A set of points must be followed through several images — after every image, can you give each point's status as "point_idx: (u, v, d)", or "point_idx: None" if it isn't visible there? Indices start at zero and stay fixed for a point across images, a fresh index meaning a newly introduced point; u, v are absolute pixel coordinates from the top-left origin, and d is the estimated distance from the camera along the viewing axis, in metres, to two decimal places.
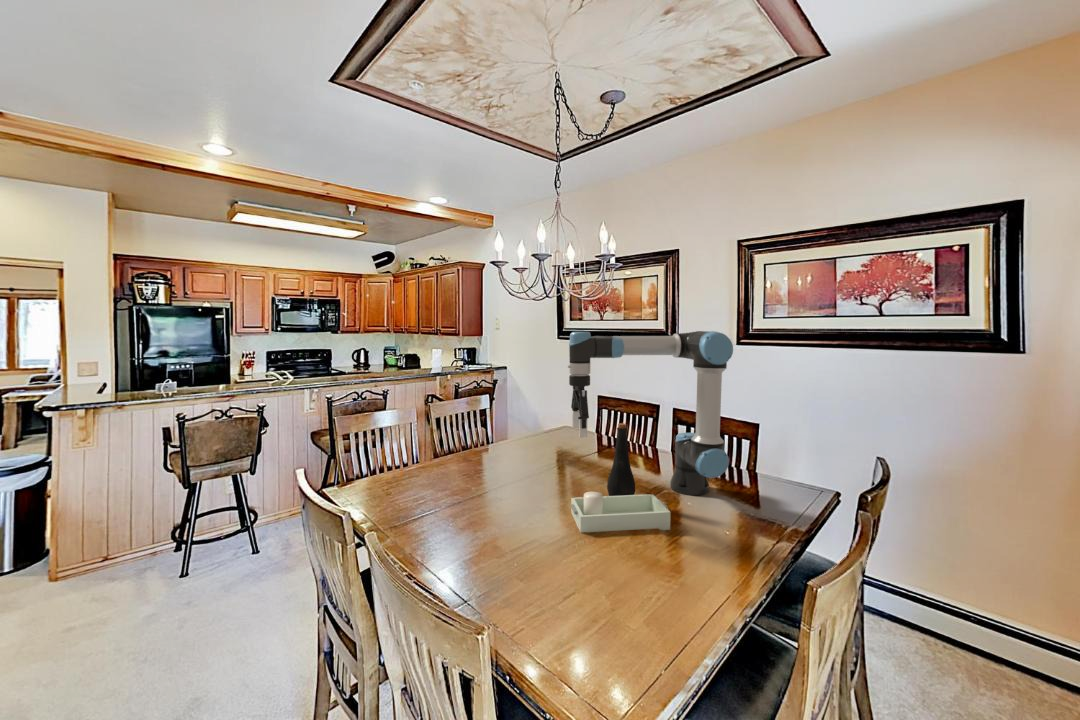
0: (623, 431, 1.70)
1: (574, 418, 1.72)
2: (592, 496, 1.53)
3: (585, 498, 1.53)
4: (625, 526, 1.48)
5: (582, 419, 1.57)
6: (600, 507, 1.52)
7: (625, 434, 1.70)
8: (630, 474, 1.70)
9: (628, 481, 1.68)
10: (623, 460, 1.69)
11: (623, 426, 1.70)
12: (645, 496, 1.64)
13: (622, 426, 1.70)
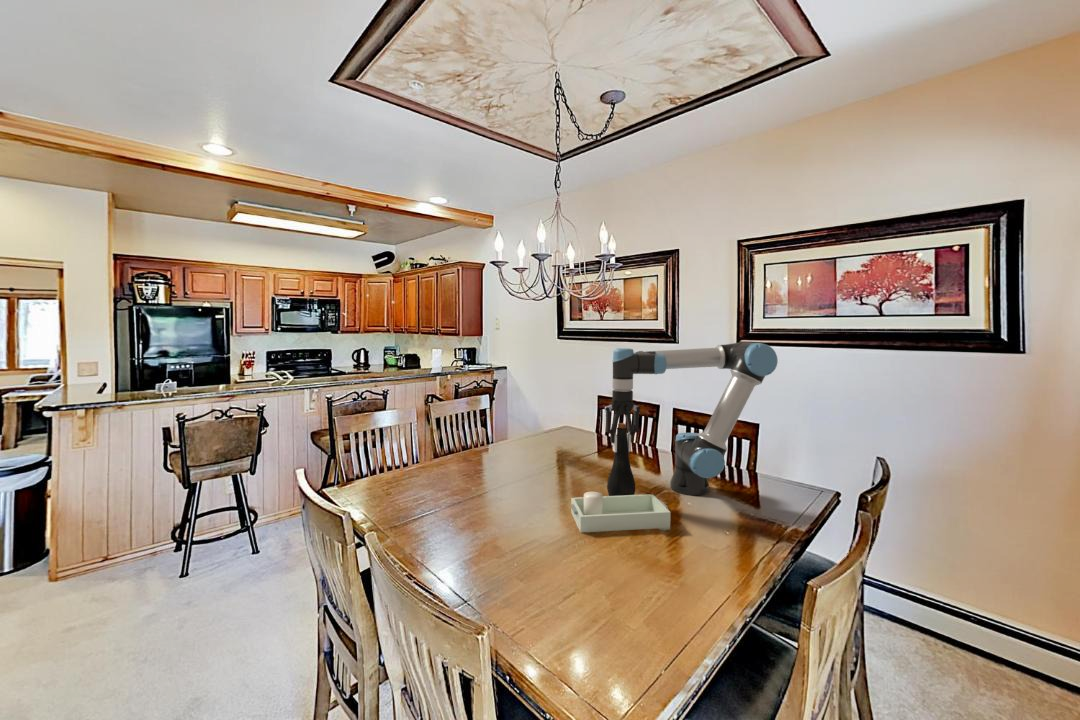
0: (623, 431, 1.70)
1: (627, 440, 1.73)
2: (592, 496, 1.53)
3: (585, 498, 1.53)
4: (625, 526, 1.48)
5: None
6: (600, 507, 1.52)
7: (625, 434, 1.70)
8: (630, 474, 1.70)
9: (628, 481, 1.68)
10: (623, 460, 1.69)
11: (623, 426, 1.70)
12: (645, 496, 1.64)
13: (622, 426, 1.70)
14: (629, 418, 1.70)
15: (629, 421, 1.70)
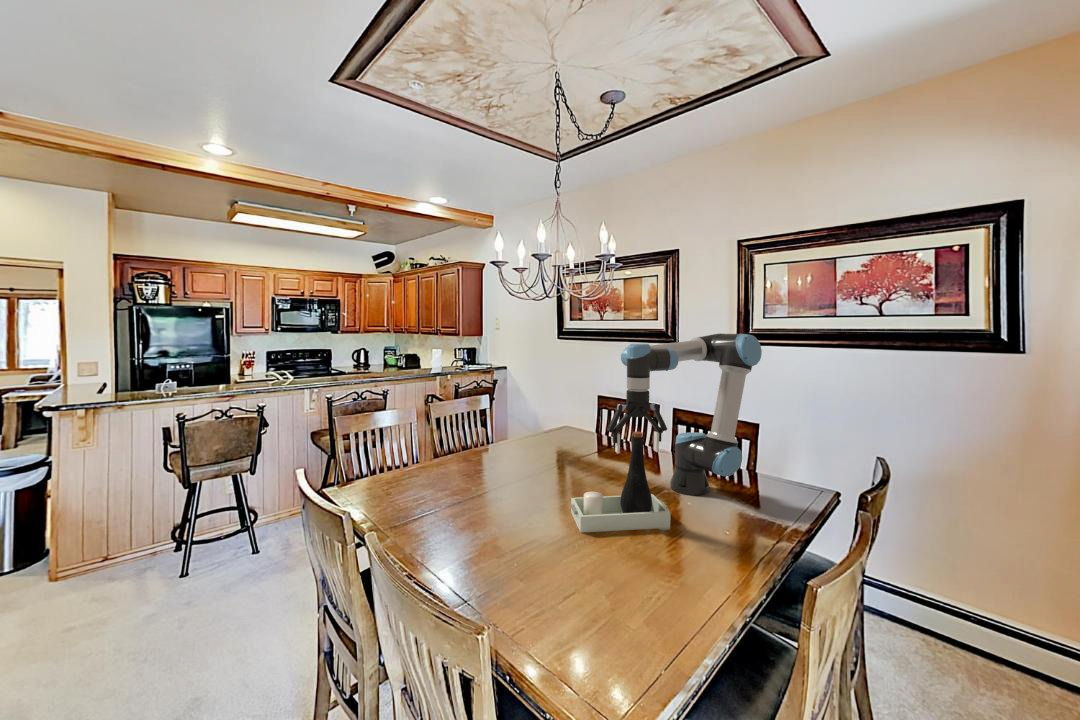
0: (639, 440, 1.53)
1: (654, 439, 1.56)
2: (592, 496, 1.53)
3: (585, 498, 1.53)
4: (625, 526, 1.48)
5: None
6: (600, 507, 1.52)
7: (641, 444, 1.53)
8: (646, 488, 1.53)
9: (644, 496, 1.52)
10: (639, 473, 1.53)
11: (639, 435, 1.53)
12: None
13: (638, 435, 1.53)
14: (650, 418, 1.53)
15: (652, 421, 1.53)
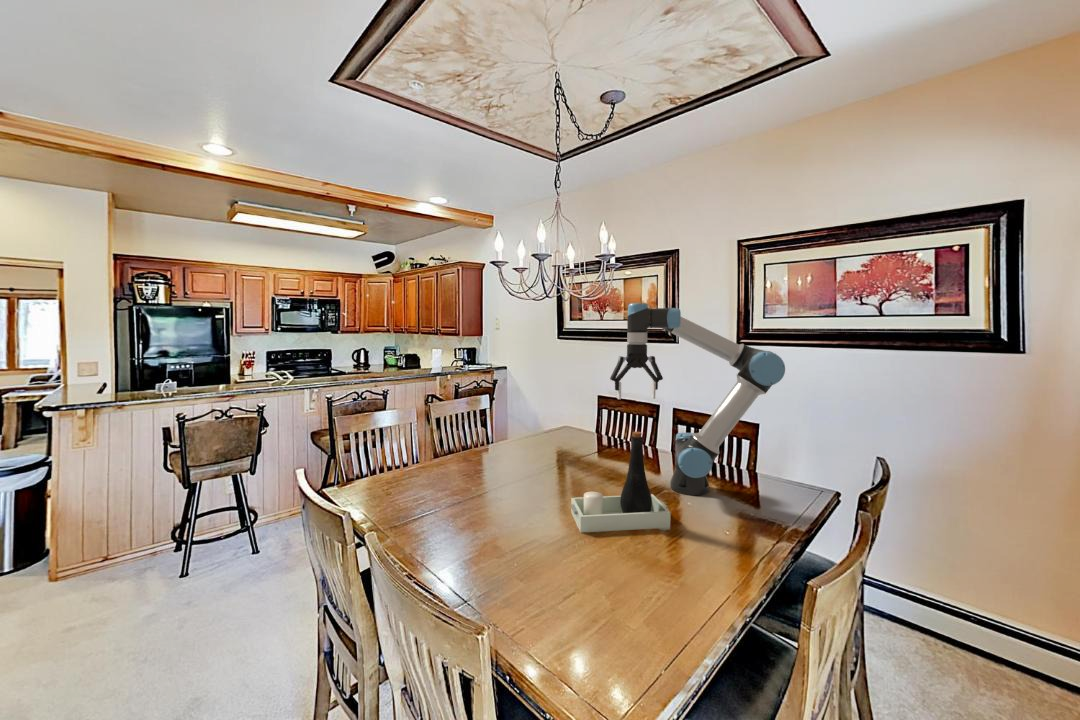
0: (638, 440, 1.53)
1: (651, 388, 1.77)
2: (592, 496, 1.53)
3: (585, 498, 1.53)
4: (625, 526, 1.48)
5: None
6: (600, 507, 1.52)
7: (641, 444, 1.53)
8: (646, 488, 1.53)
9: (644, 496, 1.52)
10: (638, 473, 1.53)
11: (638, 435, 1.53)
12: None
13: (637, 435, 1.53)
14: (648, 369, 1.75)
15: (649, 371, 1.75)
